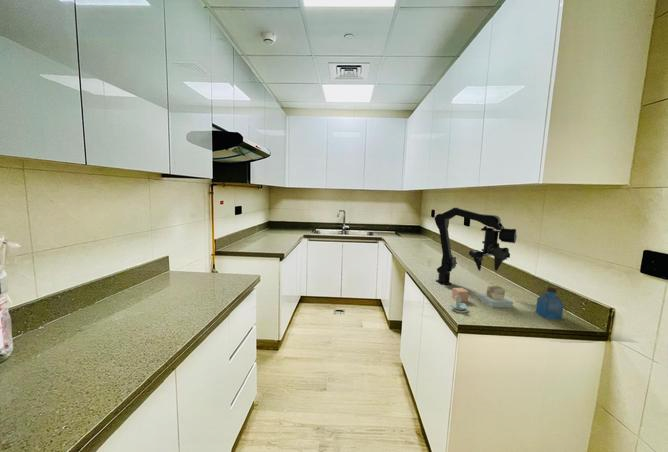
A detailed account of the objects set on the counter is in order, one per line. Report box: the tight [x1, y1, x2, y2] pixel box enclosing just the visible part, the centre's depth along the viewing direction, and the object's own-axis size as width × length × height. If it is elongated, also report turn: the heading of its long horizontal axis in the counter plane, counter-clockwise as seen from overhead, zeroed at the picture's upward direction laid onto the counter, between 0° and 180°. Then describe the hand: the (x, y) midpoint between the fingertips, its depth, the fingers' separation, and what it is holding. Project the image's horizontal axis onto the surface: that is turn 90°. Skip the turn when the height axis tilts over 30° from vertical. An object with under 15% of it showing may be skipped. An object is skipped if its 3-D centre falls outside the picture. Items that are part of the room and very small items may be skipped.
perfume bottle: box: [535, 286, 565, 321], centre depth 112 cm, size 6×6×12 cm
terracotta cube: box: [451, 287, 469, 303], centre depth 127 cm, size 5×5×5 cm
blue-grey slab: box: [477, 293, 514, 308], centre depth 125 cm, size 10×10×3 cm
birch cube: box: [486, 285, 506, 300], centre depth 124 cm, size 5×5×5 cm
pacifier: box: [449, 295, 469, 314], centre depth 115 cm, size 7×6×6 cm
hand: (487, 270), depth 136 cm, fingers open, 9 cm apart
